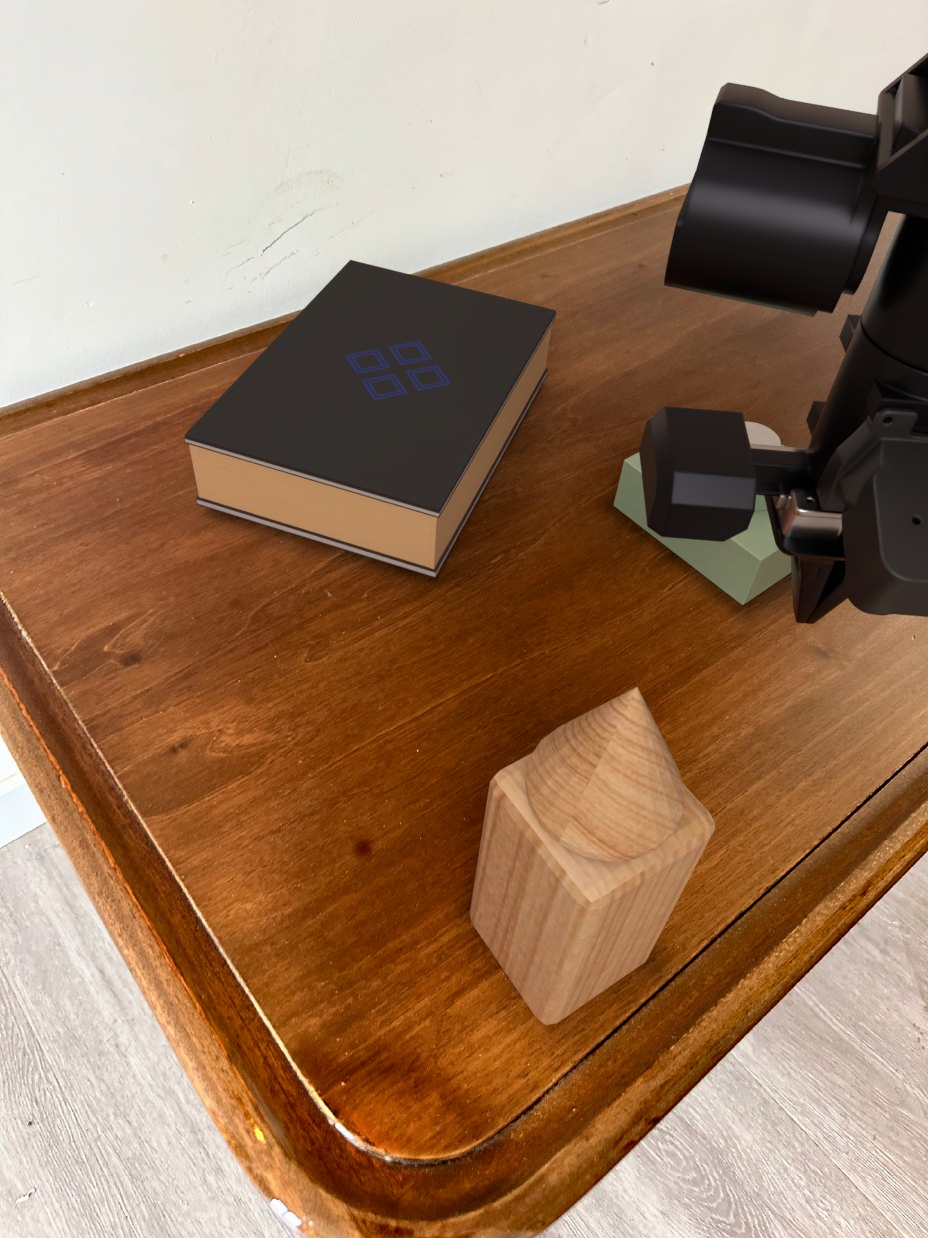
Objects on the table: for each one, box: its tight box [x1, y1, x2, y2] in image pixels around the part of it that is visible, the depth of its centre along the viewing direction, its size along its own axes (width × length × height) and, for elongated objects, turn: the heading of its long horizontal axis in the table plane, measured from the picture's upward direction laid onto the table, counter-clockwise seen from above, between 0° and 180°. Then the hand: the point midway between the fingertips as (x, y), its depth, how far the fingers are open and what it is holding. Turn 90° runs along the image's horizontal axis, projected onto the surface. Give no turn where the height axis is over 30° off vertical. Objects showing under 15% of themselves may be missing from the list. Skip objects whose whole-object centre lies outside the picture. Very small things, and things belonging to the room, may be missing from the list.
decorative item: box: [469, 686, 716, 1026], centre depth 39 cm, size 7×7×20 cm
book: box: [183, 259, 557, 579], centre depth 69 cm, size 17×25×7 cm
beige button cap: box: [745, 421, 782, 446], centre depth 62 cm, size 4×4×2 cm
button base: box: [613, 443, 792, 606], centre depth 65 cm, size 12×10×6 cm
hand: (802, 617), depth 47 cm, fingers closed
